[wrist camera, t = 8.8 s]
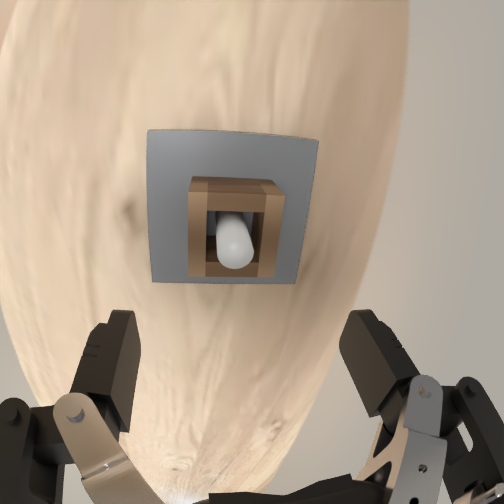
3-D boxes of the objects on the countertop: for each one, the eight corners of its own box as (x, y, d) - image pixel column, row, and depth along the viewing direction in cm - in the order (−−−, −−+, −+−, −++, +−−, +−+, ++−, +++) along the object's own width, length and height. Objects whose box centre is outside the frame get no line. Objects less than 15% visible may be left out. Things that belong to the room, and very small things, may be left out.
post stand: (149, 129, 18) (121, 140, 12) (314, 139, 20) (356, 155, 14) (154, 275, 24) (140, 331, 18) (292, 277, 26) (316, 330, 20)
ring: (192, 176, 20) (188, 192, 16) (271, 179, 20) (284, 195, 17) (191, 248, 22) (188, 276, 19) (263, 249, 23) (273, 277, 20)
